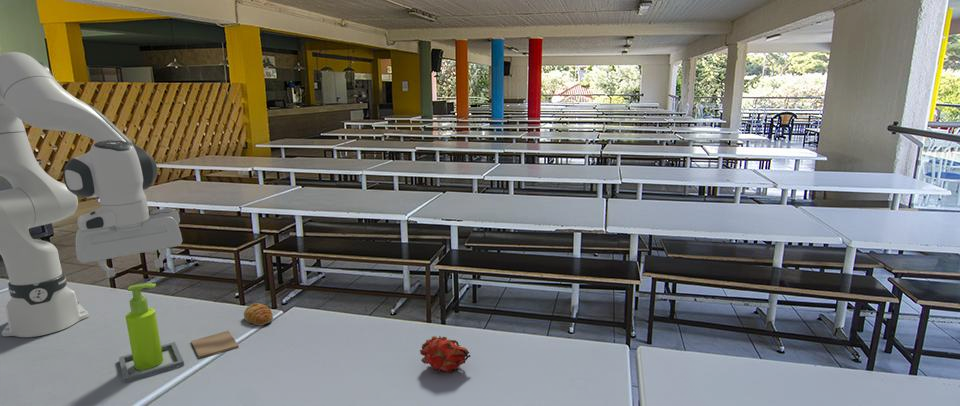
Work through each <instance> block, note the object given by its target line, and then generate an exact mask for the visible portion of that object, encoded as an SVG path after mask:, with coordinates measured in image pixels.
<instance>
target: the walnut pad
mask: <svg viewBox="0 0 960 406" xmlns="http://www.w3.org/2000/svg"><path fill="white" fill-rule="evenodd" d="M190 343H191V345H192V347H193V348H194V349H193V350H194V351H195V352H196V354H197V357H198V359H203V358H206V357H209V356H212V355H213V356H214V355H217V354H219V353H224V352H227V351H229V350H233V349H237V348H239V344H238V343H237V341H236V340H235V338H234V337H233V335H232V334H231V331H229V330H226V331H222V332H219V333H215V334H212V335H208V336H205V337H201V338H197V339H193V340H191V341H190Z"/></svg>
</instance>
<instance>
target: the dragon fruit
mask: <svg viewBox="0 0 960 406" xmlns="http://www.w3.org/2000/svg"><path fill="white" fill-rule="evenodd" d="M419 353H420V355H421V356H424V357H422V358H421V363H423V364H427V365H428V364H429V365H430V366H431V367H432V368H433V369H434V371H435V374H439V373H440V371H445V372H447V373H451V374H452V373H455V372H457V371H460V370H461V369H460V366H461V365H463V364H466V361H467V360H468V358H471V355H470V352H469V350H468V349H467V348H466V347H463V346H461V345H460V344H459V341H458V340H455V339H454V340H453V339H452V340H451V339H448V337H447V336H443V337H442V336H441V335H439V336H438V337H437V335H434V336H431V339H426V340H425V342H424V343H422V344H421V349H420V350H419Z"/></svg>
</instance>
